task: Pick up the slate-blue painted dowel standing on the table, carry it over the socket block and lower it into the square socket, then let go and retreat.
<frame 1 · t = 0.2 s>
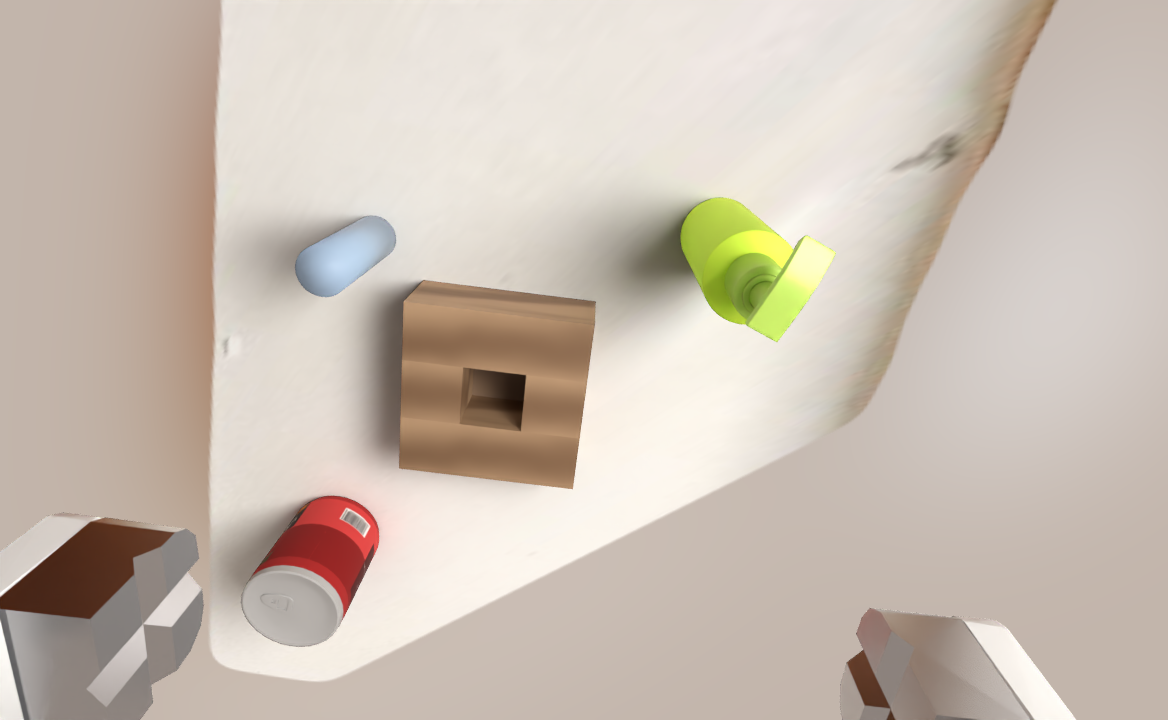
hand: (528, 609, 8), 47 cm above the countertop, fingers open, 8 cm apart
soap dispenser: (721, 229, 54), on the countertop
dowel: (374, 237, 55), on the countertop
canned food: (340, 526, 65), on the countertop
socket block: (503, 370, 59), on the countertop
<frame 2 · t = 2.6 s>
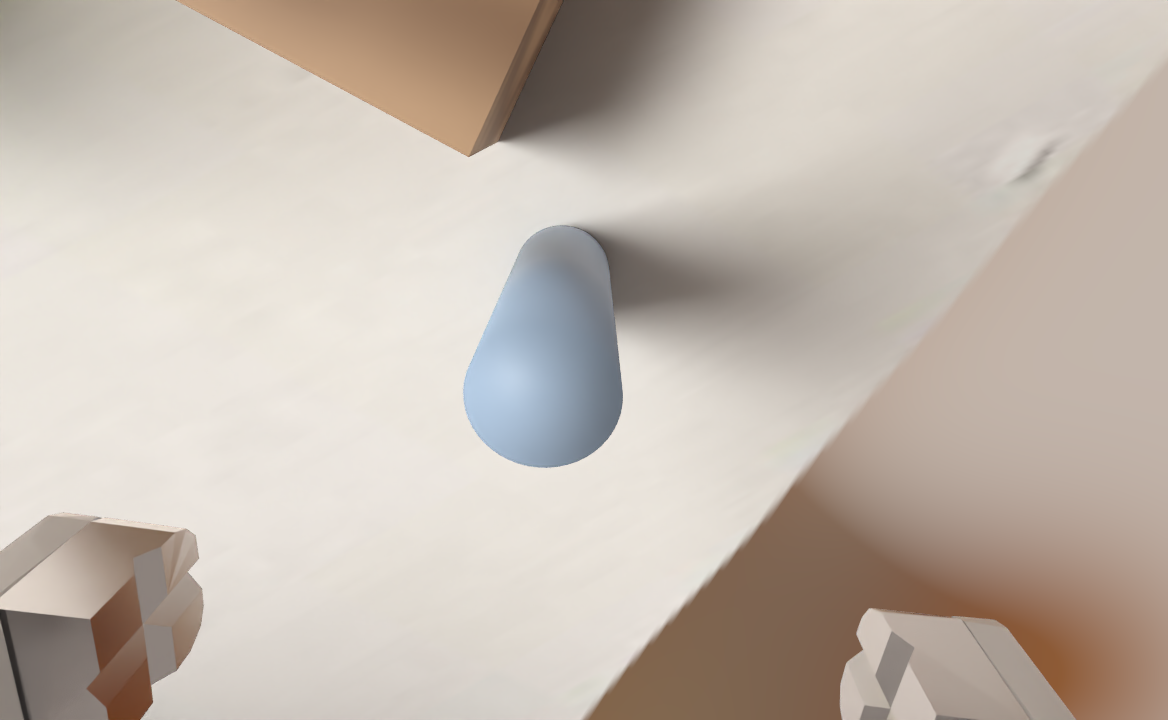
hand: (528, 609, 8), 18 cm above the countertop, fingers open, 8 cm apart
dowel: (562, 272, 25), on the countertop
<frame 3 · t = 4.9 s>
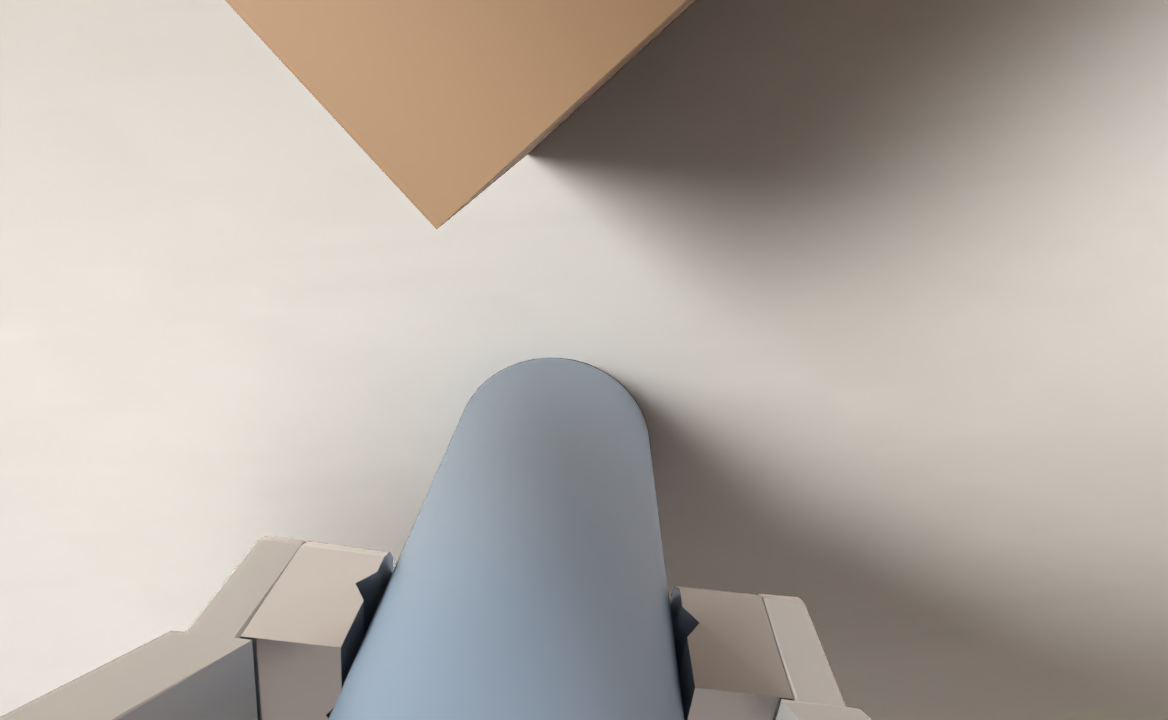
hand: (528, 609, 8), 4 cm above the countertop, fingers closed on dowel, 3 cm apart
dowel: (553, 447, 12), on the countertop, touching gripper
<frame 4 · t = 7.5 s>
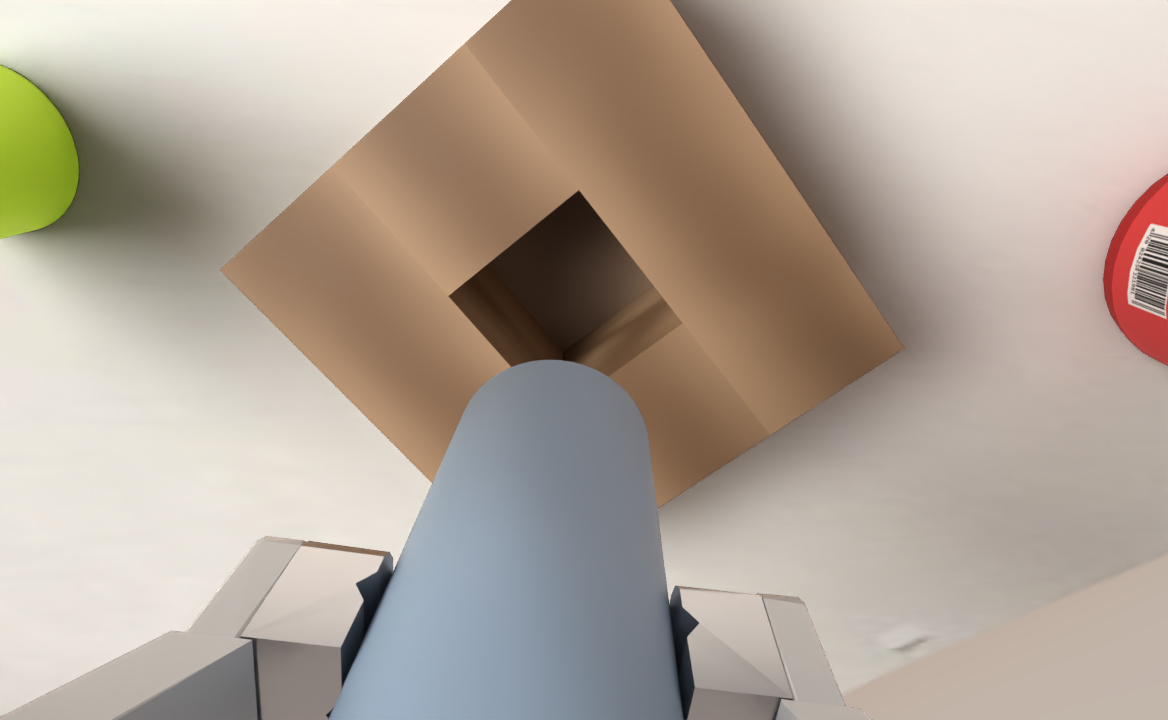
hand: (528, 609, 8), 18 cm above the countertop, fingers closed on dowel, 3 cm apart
dowel: (552, 448, 12), point 14 cm above the countertop, touching gripper
socket block: (573, 261, 26), on the countertop
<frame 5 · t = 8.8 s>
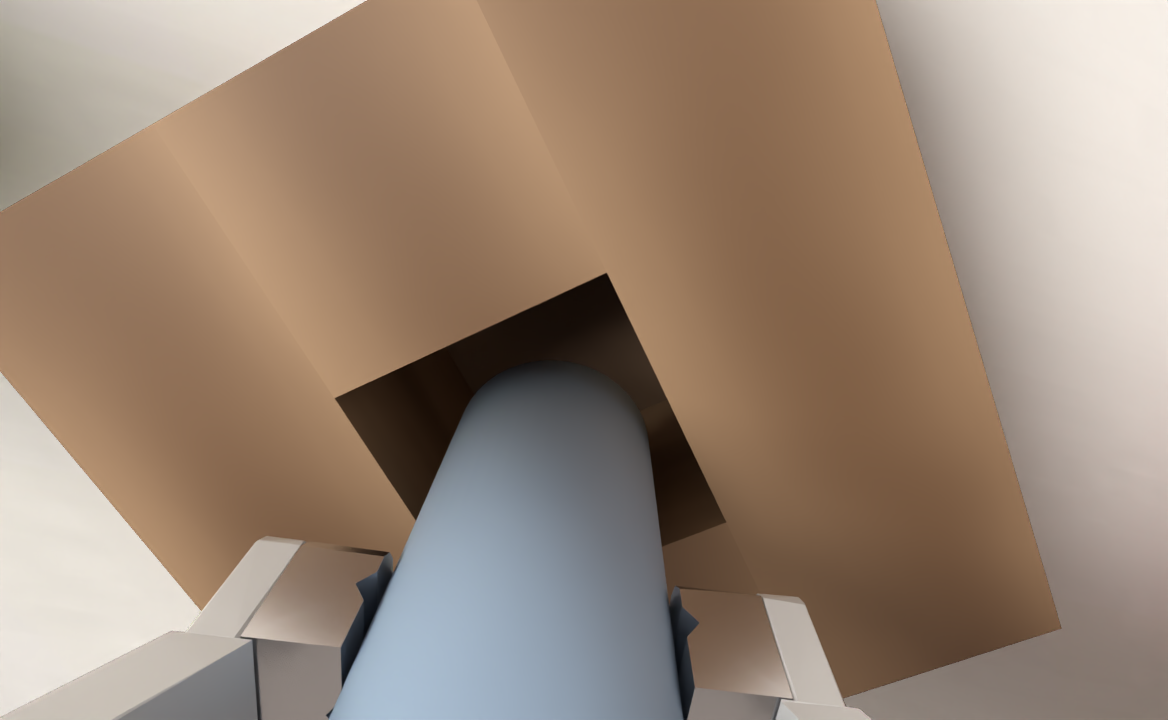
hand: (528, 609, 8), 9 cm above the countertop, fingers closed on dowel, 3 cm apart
dowel: (552, 449, 12), point 5 cm above the countertop, touching gripper
socket block: (557, 339, 17), on the countertop
when the fingers open (7 cm above the countertop, at t = 9.9 s): dowel drops 2 cm, resting on socket block.
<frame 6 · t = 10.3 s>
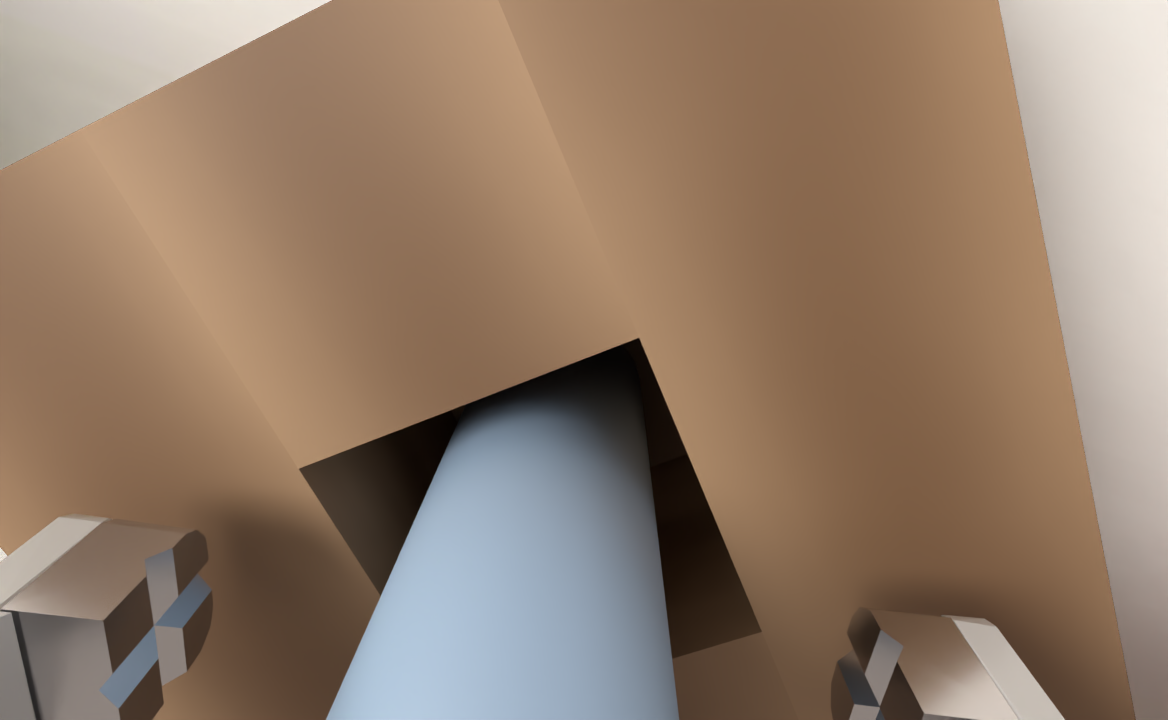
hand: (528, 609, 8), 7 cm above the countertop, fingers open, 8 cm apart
dowel: (560, 392, 15), resting on socket block
socket block: (564, 381, 15), on the countertop
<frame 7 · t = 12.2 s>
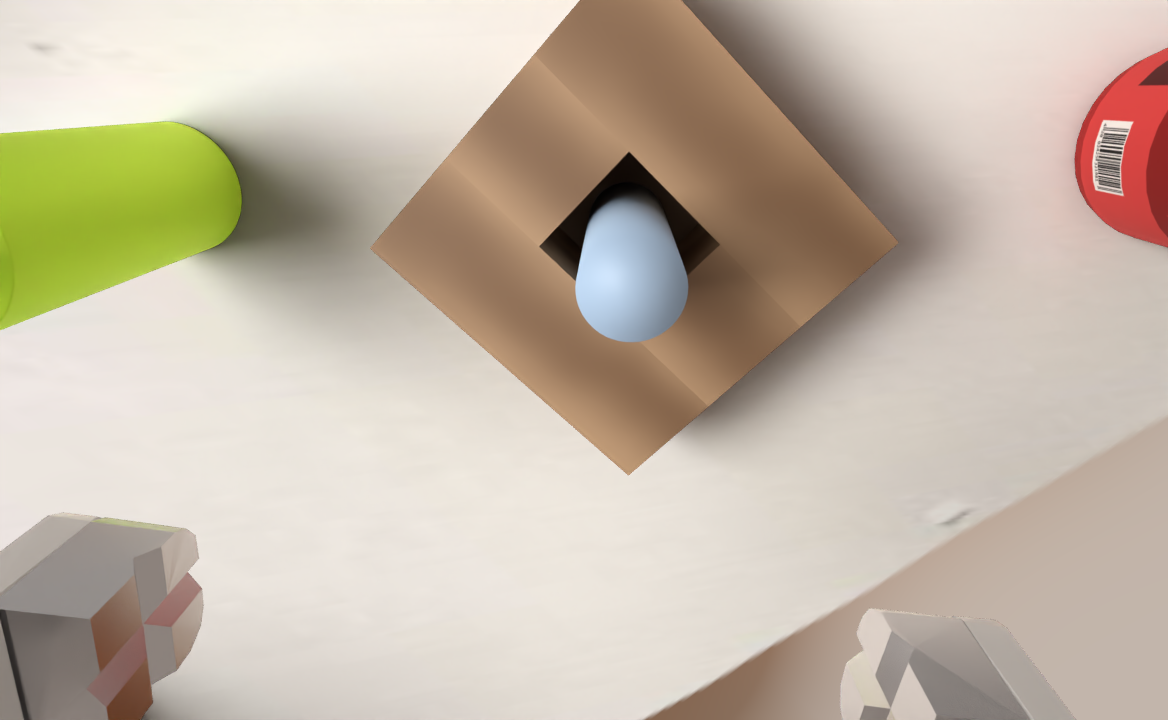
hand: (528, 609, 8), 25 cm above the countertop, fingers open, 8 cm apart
soap dispenser: (173, 192, 32), on the countertop
dowel: (626, 221, 31), point 1 cm above the countertop, touching socket block
canned food: (1159, 143, 30), on the countertop
socket block: (627, 217, 32), on the countertop
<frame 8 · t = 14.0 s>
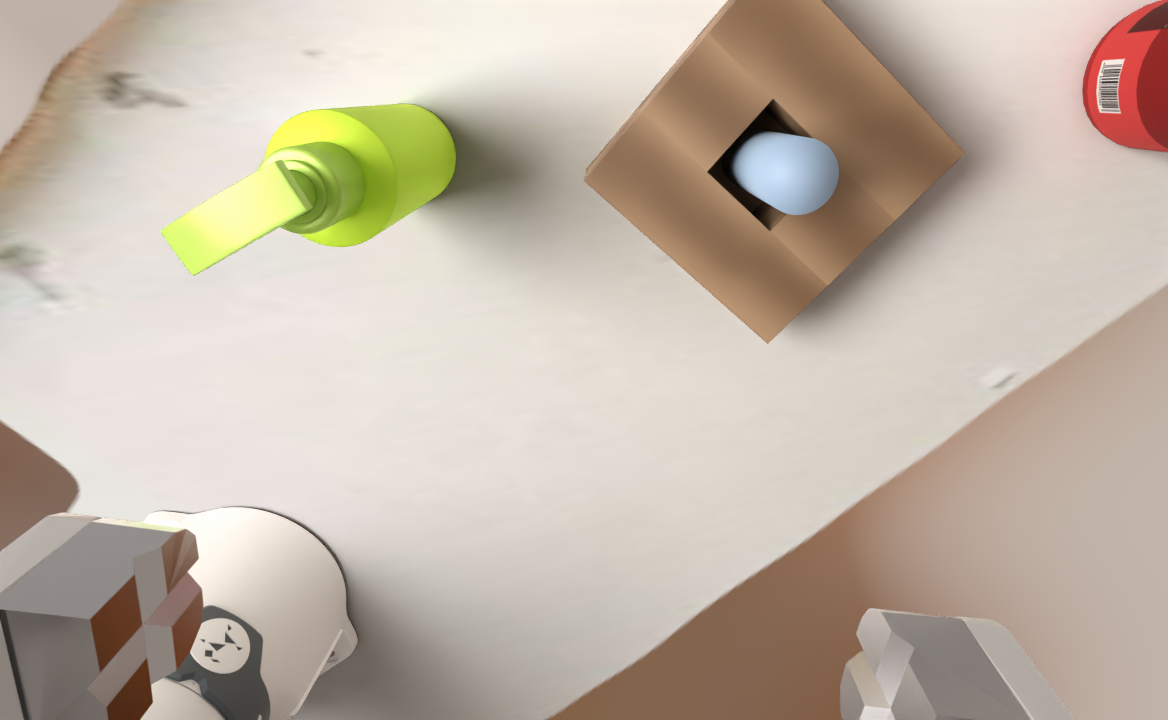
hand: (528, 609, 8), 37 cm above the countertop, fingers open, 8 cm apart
soap dispenser: (402, 158, 43), on the countertop
dowel: (750, 158, 42), point 1 cm above the countertop, touching socket block
canned food: (1144, 76, 40), on the countertop
socket block: (749, 156, 42), on the countertop
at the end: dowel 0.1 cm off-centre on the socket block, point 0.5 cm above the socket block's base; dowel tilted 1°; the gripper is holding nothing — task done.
